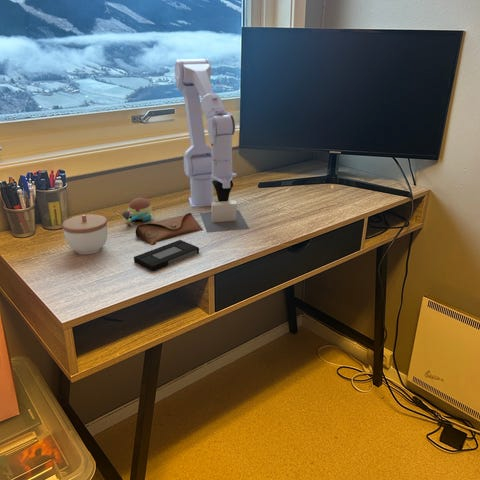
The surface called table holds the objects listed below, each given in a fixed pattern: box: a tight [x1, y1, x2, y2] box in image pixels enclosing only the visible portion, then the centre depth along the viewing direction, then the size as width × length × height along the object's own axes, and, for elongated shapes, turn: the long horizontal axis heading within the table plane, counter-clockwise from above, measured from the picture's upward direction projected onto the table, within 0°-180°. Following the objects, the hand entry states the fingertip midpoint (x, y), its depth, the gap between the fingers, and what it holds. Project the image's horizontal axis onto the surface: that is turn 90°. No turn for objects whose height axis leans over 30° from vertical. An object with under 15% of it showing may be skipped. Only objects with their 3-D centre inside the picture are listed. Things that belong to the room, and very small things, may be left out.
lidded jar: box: [61, 213, 108, 256], centre depth 121 cm, size 11×11×9 cm
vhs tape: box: [133, 239, 200, 273], centre depth 117 cm, size 8×14×2 cm, turn 136°
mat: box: [199, 209, 250, 233], centre depth 140 cm, size 16×12×1 cm
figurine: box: [121, 197, 152, 227], centre depth 140 cm, size 7×10×7 cm
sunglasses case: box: [135, 212, 204, 246], centre depth 132 cm, size 18×7×7 cm
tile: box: [210, 200, 238, 222], centre depth 138 cm, size 2×7×6 cm, turn 102°
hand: (223, 205), depth 138 cm, fingers closed
